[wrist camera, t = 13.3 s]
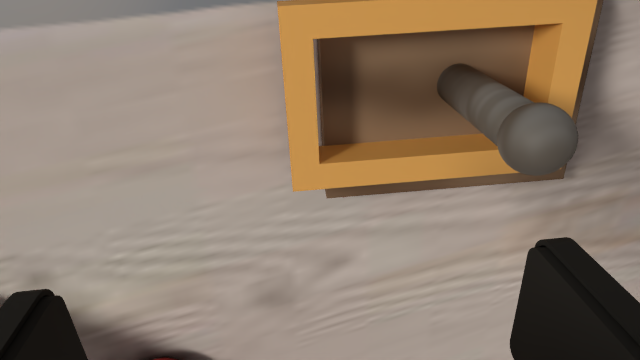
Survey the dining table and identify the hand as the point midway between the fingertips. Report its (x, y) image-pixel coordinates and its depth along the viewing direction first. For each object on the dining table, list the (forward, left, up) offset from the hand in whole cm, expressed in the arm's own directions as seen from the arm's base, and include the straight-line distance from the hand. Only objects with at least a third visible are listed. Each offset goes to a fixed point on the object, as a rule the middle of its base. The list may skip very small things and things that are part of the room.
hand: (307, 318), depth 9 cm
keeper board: (+1, +10, -20) cm, 23 cm away
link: (0, +8, -18) cm, 20 cm away
